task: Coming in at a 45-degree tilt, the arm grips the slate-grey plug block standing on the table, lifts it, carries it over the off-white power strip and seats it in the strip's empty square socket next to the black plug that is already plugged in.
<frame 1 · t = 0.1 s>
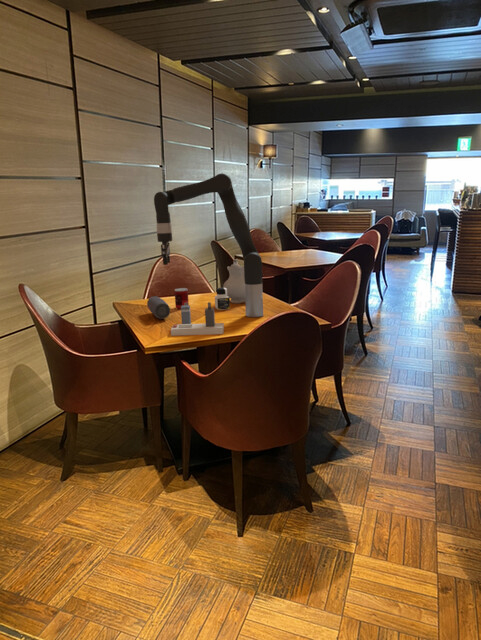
hand: (166, 263, 251), 29 cm above the table, tool pointing down, fingers open, 8 cm apart
bluetooth speaker: (158, 317, 263), on the table
ceramic pitcher: (239, 301, 297), on the table
plug: (186, 325, 240), on the table
strip: (198, 332, 228), on the table
medicine bottle: (222, 309, 277), on the table
canned food: (182, 308, 283), on the table
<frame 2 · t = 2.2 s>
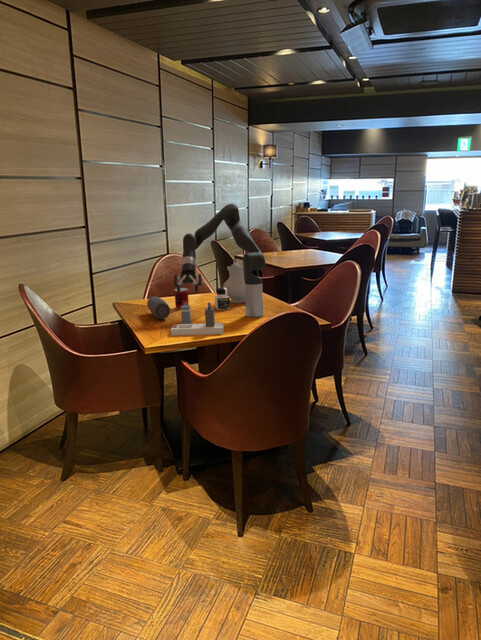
hand: (187, 292, 248), 15 cm above the table, tool tilted 45°, fingers open, 8 cm apart
nothing on the table moved.
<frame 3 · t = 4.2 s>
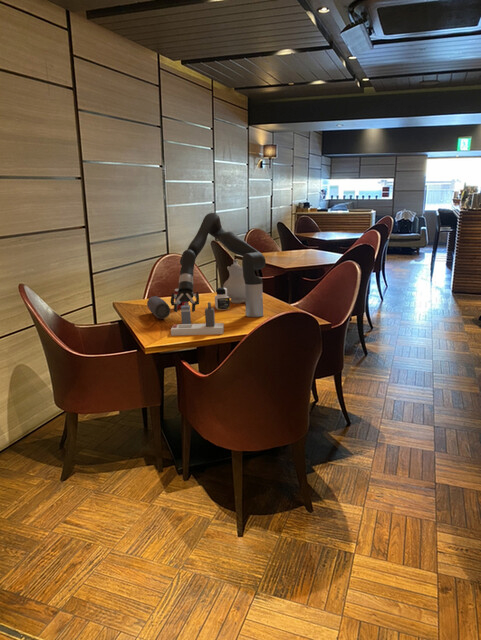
hand: (184, 311, 242), 7 cm above the table, tool tilted 45°, fingers open, 8 cm apart
nothing on the table moved.
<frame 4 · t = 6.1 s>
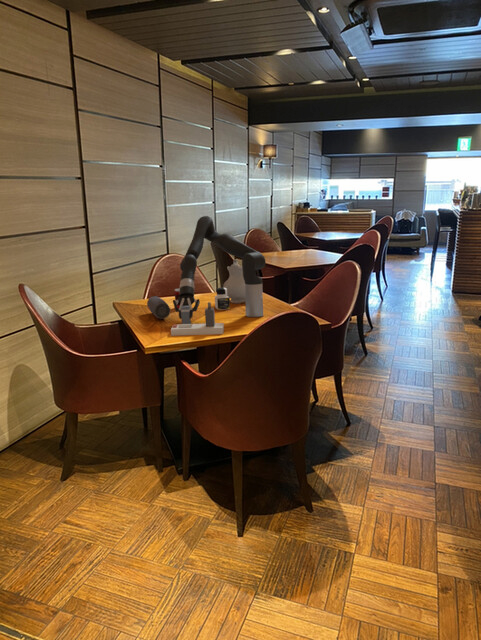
hand: (185, 317, 237), 5 cm above the table, tool tilted 45°, fingers closed on plug, 4 cm apart
plug: (186, 325, 240), on the table, touching gripper
everything else where it was.
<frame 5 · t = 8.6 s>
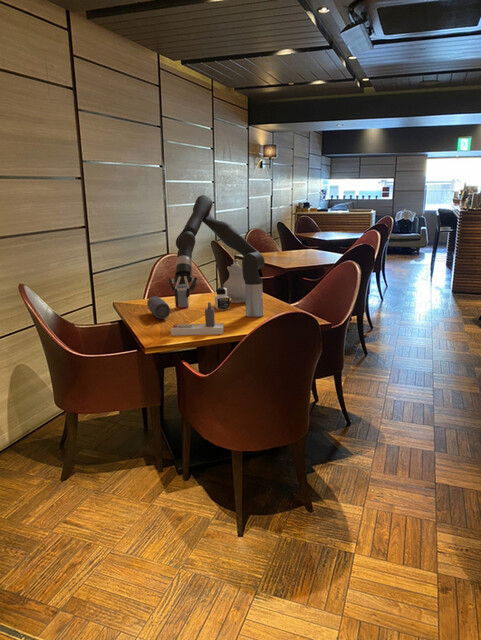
hand: (182, 297, 222), 17 cm above the table, tool tilted 45°, fingers closed on plug, 4 cm apart
plug: (183, 305, 225), point 13 cm above the table, touching gripper
everything else where it was.
when the fingers open (7 cm above the table, at t = 11.3 s): plug drops 2 cm, resting in strip.
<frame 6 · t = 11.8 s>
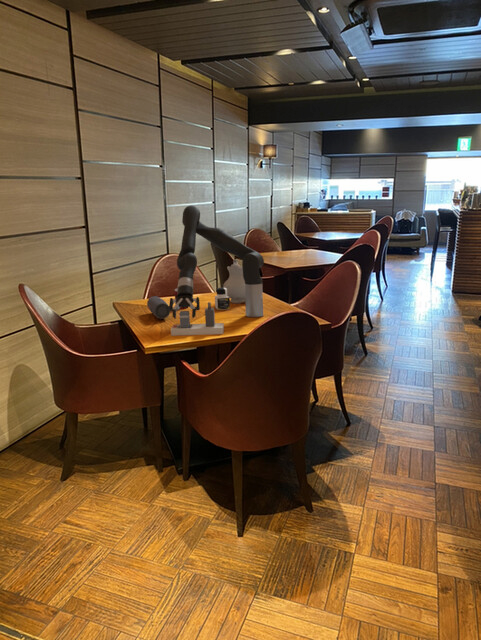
hand: (183, 317, 225), 8 cm above the table, tool tilted 45°, fingers open, 8 cm apart
plug: (185, 332, 228), resting in strip
everything else where it was.
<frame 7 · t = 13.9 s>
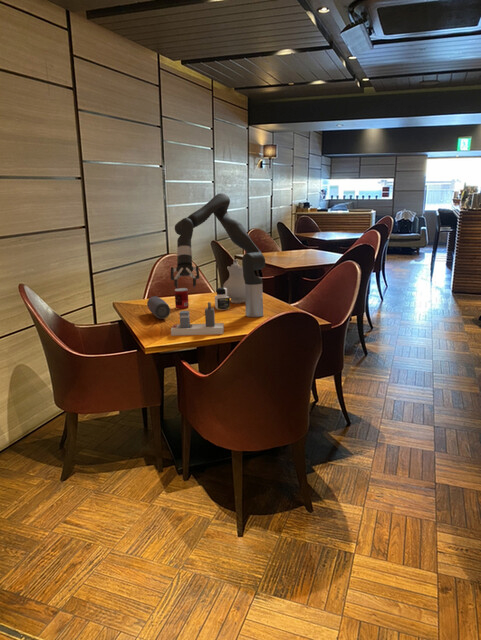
hand: (185, 287, 240), 19 cm above the table, tool tilted 30°, fingers open, 8 cm apart
nothing on the table moved.
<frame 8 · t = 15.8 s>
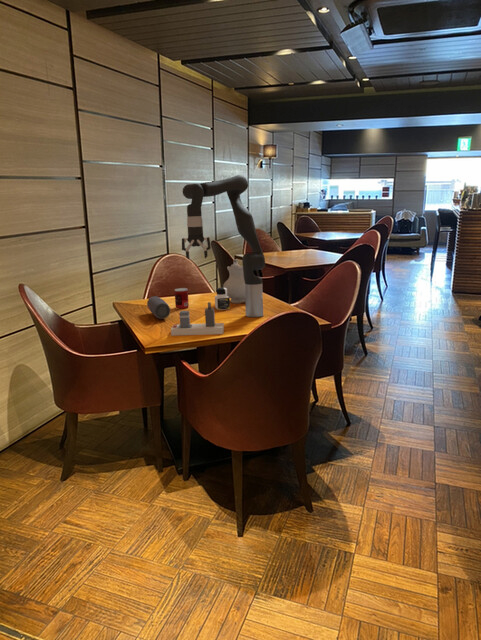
hand: (196, 258, 243), 32 cm above the table, tool pointing down, fingers open, 8 cm apart
nothing on the table moved.
at the end: plug 0.1 cm from the target spot on the strip, point 0.0 cm above the strip's base; plug tilted 0°; the gripper is holding nothing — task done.
